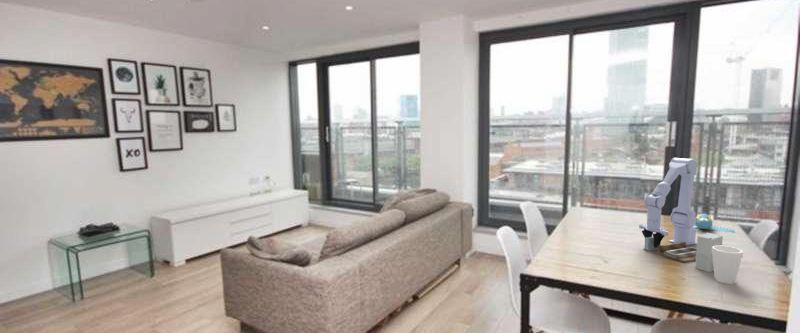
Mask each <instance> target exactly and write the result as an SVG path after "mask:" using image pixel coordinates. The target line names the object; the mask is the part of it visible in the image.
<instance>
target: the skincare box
mask: <svg viewBox="0 0 800 333" xmlns="http://www.w3.org/2000/svg"><path fill="white" fill-rule="evenodd" d="M723 236H724V235H720V234H715V233H712V232H706V233H703V234H700V235H698V236H697V240H696V242H697V244H696V248H697V251H696V261H695V264H694V265H695V266H694V268H695V269H698V270H700V271H704V272H707V273H712V272H714V266H713V256H712V247H713V246H716V245H723V238H724V237H723Z"/></svg>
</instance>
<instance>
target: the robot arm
mask: <svg viewBox="0 0 800 333" xmlns="http://www.w3.org/2000/svg"><path fill="white" fill-rule="evenodd" d="M668 168H669V169H668V171H667V173H666V175H665V177H664V179H663V180H662V182H659V183H658V184H657V185H656V187H655V188H654V190H653V191H652V193H651V194H649V195H647V196H646V197H645V200H644V204H645V206H646V211H647V214H646V224H639V225H638V228H639V229H641V234H642V235H643V237H644V239H645V238H646V237H652V236H653V237H654V247H655V248H657V246H659V245H660V242H661V243H662V240H663V239H664V238H665V237H666V236H669V233H670V232H669V231H668V230H666V229H664V228H661V225H662V224H661V223H662V222H661V220H662V208H663V207H664V206H665V203H666V200H667V198H666V197H667V196H668V194H669V193H670V192H671V190H672V188H671V185H672V184H673V182H674V181H675V180H676V179H677V178H678V177H679V175H680V177H681V179H680V185H679V186H680V187H679V193H678V200H677V201H678V202H677V206H676V207H674V208H672V211H671V214H670V215H669V220H670V222H671V223H672V225H673V235H672V238H673V239H669V240H668V242H671V243H672V244H673V243H679V242H686V246H691V245H697V241H696V233H697V230H696V228H694V227H693V226H694V225H695V224H696V218H697V216H696V215H697V214H696V211H695V210H693V209H692V208H691V205H692V198H693V197H692V196H693V190H694V183H695V182H694V181H695V176H696V175H697V170H698V162H697V160H695V159H694V158H682V157H681V158H680V157H673V158H671V160H670V162H669V164H668ZM642 229H643V230H642Z"/></svg>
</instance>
